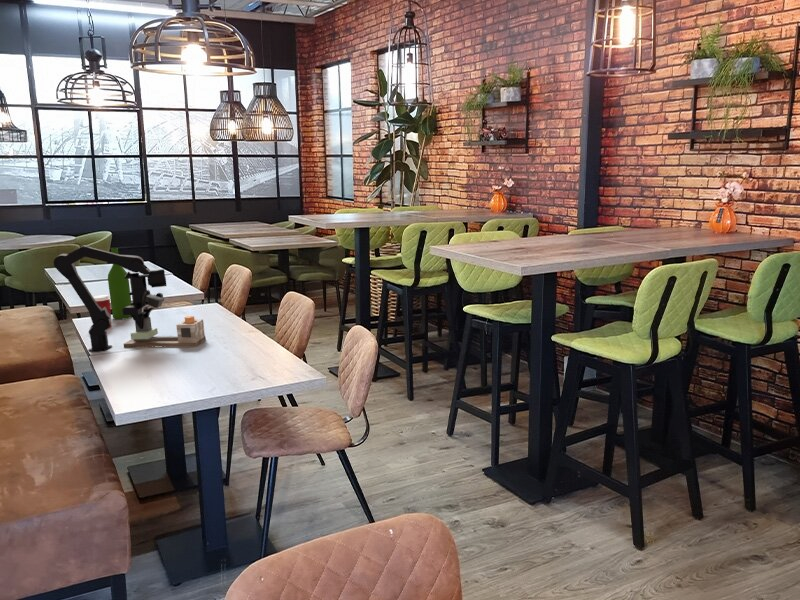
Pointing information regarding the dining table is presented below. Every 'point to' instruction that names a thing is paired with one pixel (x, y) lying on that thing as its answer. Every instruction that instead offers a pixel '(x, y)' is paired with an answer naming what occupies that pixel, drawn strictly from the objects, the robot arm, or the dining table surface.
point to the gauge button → (189, 320)
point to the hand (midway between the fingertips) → (143, 327)
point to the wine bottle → (118, 289)
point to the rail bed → (175, 337)
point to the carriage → (144, 330)
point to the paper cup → (103, 302)
